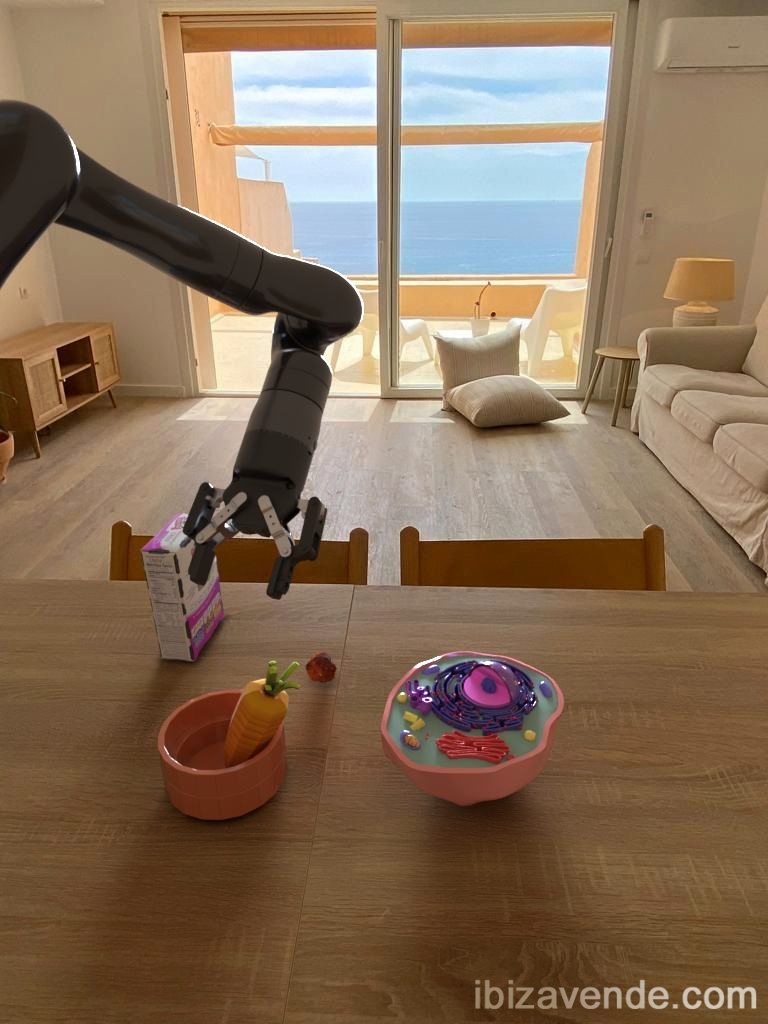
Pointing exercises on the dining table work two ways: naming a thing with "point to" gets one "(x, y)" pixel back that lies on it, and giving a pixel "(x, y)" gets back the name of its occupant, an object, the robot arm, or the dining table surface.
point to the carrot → (258, 715)
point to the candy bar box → (180, 594)
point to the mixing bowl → (215, 761)
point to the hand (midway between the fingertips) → (234, 590)
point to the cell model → (471, 725)
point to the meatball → (321, 668)
